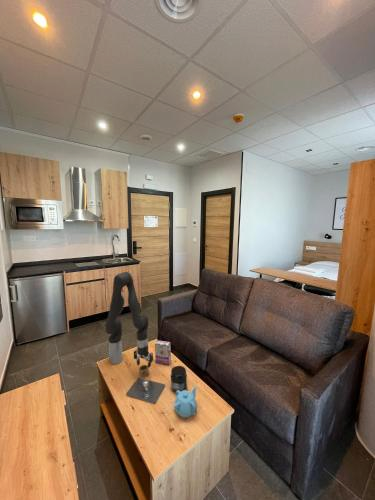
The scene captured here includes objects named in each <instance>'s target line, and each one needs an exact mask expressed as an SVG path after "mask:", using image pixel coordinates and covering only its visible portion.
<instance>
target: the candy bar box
mask: <svg viewBox="0 0 375 500" xmlns="http://www.w3.org/2000/svg"><path fill="white" fill-rule="evenodd" d="M154 355H155V364H159V365H165V366H170V364H171V363H172V350H171V342H170V341H166V340H165V341H163V340H160V339H159V340H156V341H155V342H154Z"/></svg>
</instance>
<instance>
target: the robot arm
mask: <svg viewBox="0 0 375 500" xmlns="http://www.w3.org/2000/svg"><path fill="white" fill-rule="evenodd" d="M112 285H113V286H112V294H111V295H112V296H111V300H110V304H109V311H108V315H107V318H106V322H105V325H104V326H105V327H104V330H105V333H106V334H107V335H109V336H108V348H109V349H108V362H109V363H110V364H112V365H118V364H120V363H122V361H123V358H124V357H123V343H122V336H123V331H122V330H123V327H122V326H123V325H122V321H121V320H120V318H118V317H119V316H120V314H121V313H122V312H123V310H124V305H125V297H124V296H123V294H122V291H123V289H124V287H126V288H127V293H128V295H127V304H128V307H129V310H130V313H131V317H132V318H131V319H132V323H133V326H134V327H135V328H136V329H137V332H136V349H135V350H134V351H133V359H134V360H136V365H137V366H139V365H140V363H141V361H140V359H143V360H145V361H146V362H147V365H148V368H150V367H151V366H152V363H153V362H154V355H153V352H149V340H148V330H149V329H148V328H149V318H148V317H147V315H145V314H142V315H141V313H142V311H143V309H142V307H141V304H140V302H139V299H138V296H137V293H136V289H135V283H134V281H133V276H132V274H131V273H130V272H129V271H124V272H121V273H118V274H116V275H115V276H114V278H113V283H112Z"/></svg>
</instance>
